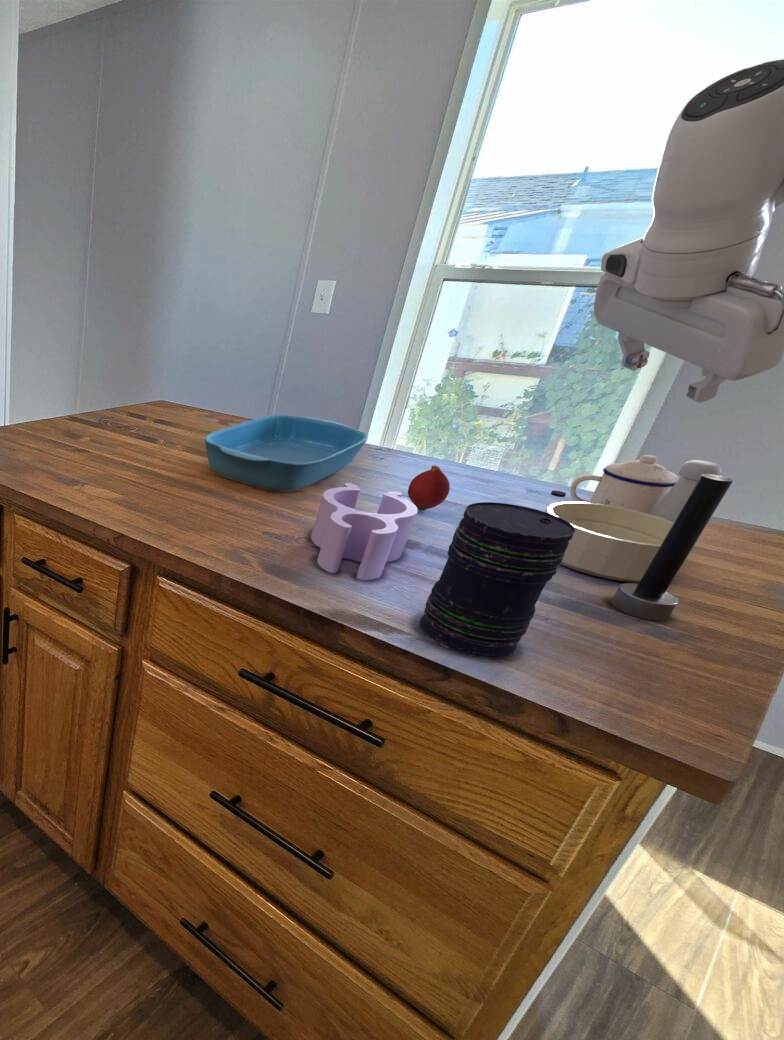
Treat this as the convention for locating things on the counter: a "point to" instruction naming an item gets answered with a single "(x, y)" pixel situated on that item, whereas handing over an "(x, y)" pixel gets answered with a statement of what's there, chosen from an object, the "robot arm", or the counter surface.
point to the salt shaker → (684, 488)
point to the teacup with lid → (630, 484)
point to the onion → (429, 488)
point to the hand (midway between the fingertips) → (665, 381)
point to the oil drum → (494, 578)
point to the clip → (361, 530)
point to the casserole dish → (282, 451)
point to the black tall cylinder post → (672, 554)
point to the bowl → (611, 539)
